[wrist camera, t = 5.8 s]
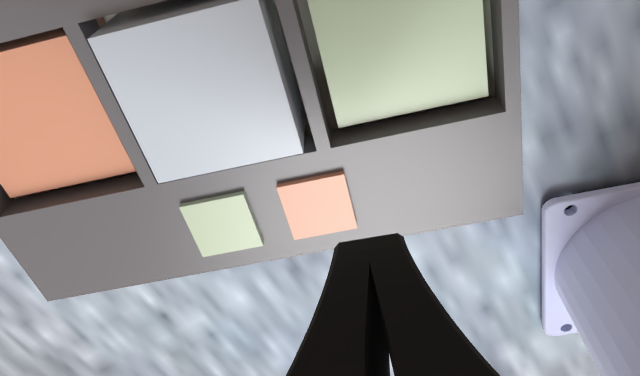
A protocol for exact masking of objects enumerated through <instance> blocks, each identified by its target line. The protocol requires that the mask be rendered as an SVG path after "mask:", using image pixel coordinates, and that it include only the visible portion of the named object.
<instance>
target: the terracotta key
mask: <svg viewBox="0 0 640 376" xmlns="http://www.w3.org/2000/svg"><path fill="white" fill-rule="evenodd" d="M96 20H97V22H98V24H99V26H100V28H101V27H102V26H103V25H104V22H103V20H102V18H101V17H100V18H97V19H96ZM135 171H136V169H135V167H134V165H133V163H132V161H131V160H130V158H129V156H128V154H127V152H126V150H125V148H124V146H123V144H122V142H121V140H120V138H119V136H118V134H117V132H116V130H115V128H114V126H113V124H112V122H111V121H110V119H109V117H108V115H107V113H106V111H105V109H104V107H103V105H102V103H101V101H100V99H99V97H98V95H97V93H96V91H95V89H94V87H93V85H92V83H91V81H90V80H89V78H88V76H87V74H86V72H85V70H84V68H83V66H82V64H81V62H80V60H79V58H78V56H77V54H76V52H75V50H74V48H73V46H72V44H71V42H70V41H69V39H68V37H67V35H66V33H65V31H64V29H63V27H62V28H58V29H54V30H50V31H46V32H42V33H38V34H34V35H30V36H27V37H23V38H19V39H15V40H11V41H7V42H3V43H0V184H1V185H2V187H3V188H4V190H5V191H6V192H7V194H8V195H9V197H10V198H13V197H18V196H23V195H27V194H32V193H37V192H41V191H46V190H51V189H56V188H60V187H65V186H70V185H74V184H79V183H84V182H88V181H93V180H98V179H102V178H107V177H112V176H117V175H121V174H126V173H131V172H135Z"/></svg>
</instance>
